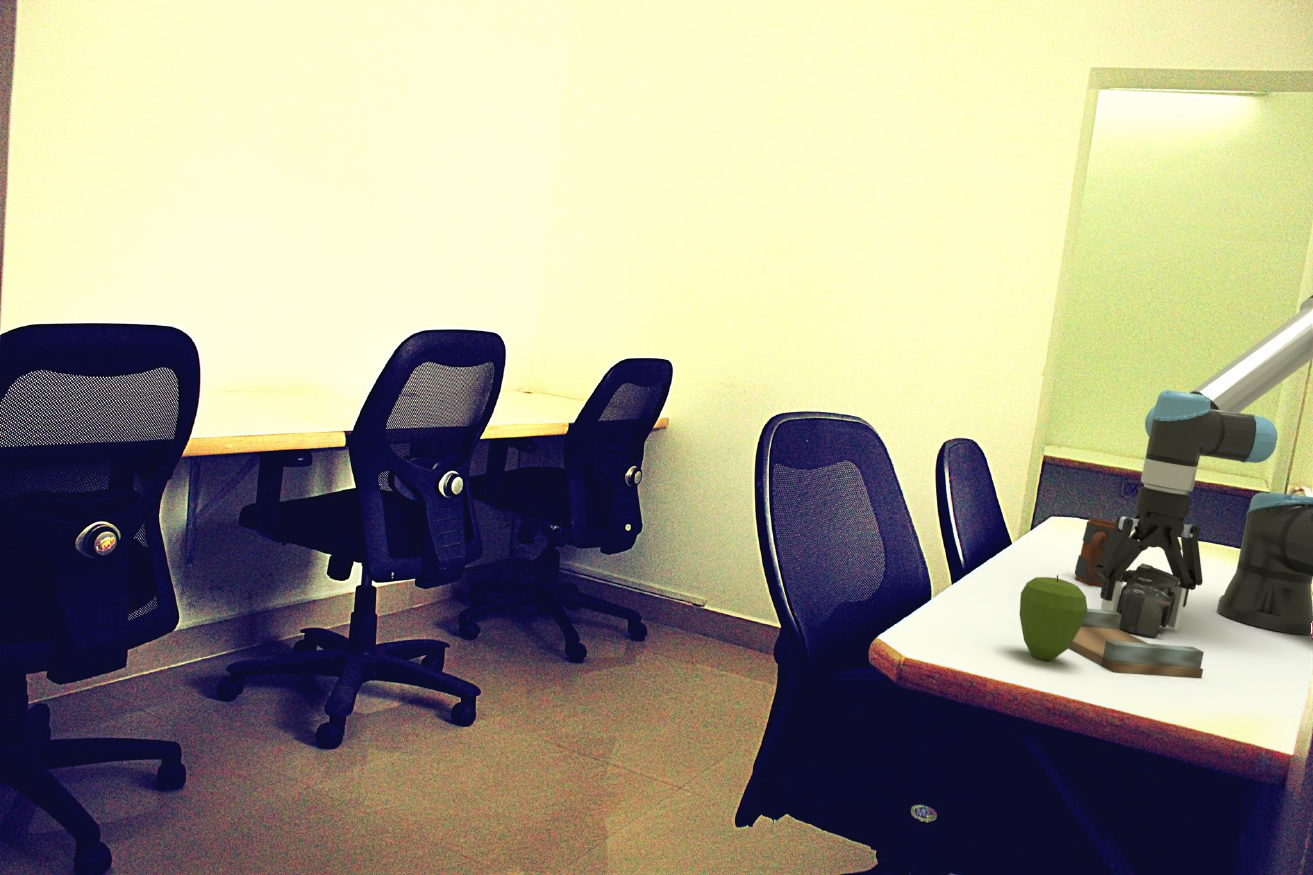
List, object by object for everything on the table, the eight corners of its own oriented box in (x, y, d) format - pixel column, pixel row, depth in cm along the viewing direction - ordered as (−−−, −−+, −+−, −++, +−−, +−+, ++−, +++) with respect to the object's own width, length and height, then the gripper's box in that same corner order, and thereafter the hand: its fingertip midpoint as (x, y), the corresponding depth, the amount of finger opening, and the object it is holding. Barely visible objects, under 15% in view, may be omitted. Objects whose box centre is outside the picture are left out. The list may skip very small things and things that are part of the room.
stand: (1106, 631, 163) (1110, 609, 162) (1201, 677, 144) (1206, 652, 143) (1027, 625, 159) (1031, 602, 159) (1113, 671, 140) (1118, 646, 140)
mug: (1062, 581, 199) (1073, 520, 198) (1081, 575, 209) (1092, 517, 207) (1109, 593, 194) (1121, 531, 193) (1127, 586, 203) (1138, 527, 202)
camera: (1185, 644, 162) (1197, 581, 161) (1117, 632, 163) (1129, 569, 162) (1159, 622, 175) (1171, 564, 174) (1096, 611, 176) (1107, 553, 175)
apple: (1077, 674, 136) (1094, 587, 135) (1009, 658, 139) (1025, 573, 138) (1075, 657, 145) (1090, 575, 143) (1011, 643, 147) (1025, 562, 146)
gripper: (1210, 492, 173) (1184, 621, 175) (1086, 477, 167) (1060, 610, 170) (1245, 501, 166) (1217, 635, 168) (1117, 485, 160) (1089, 625, 162)
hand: (1138, 623), depth 169 cm, fingers closed on camera, 11 cm apart
